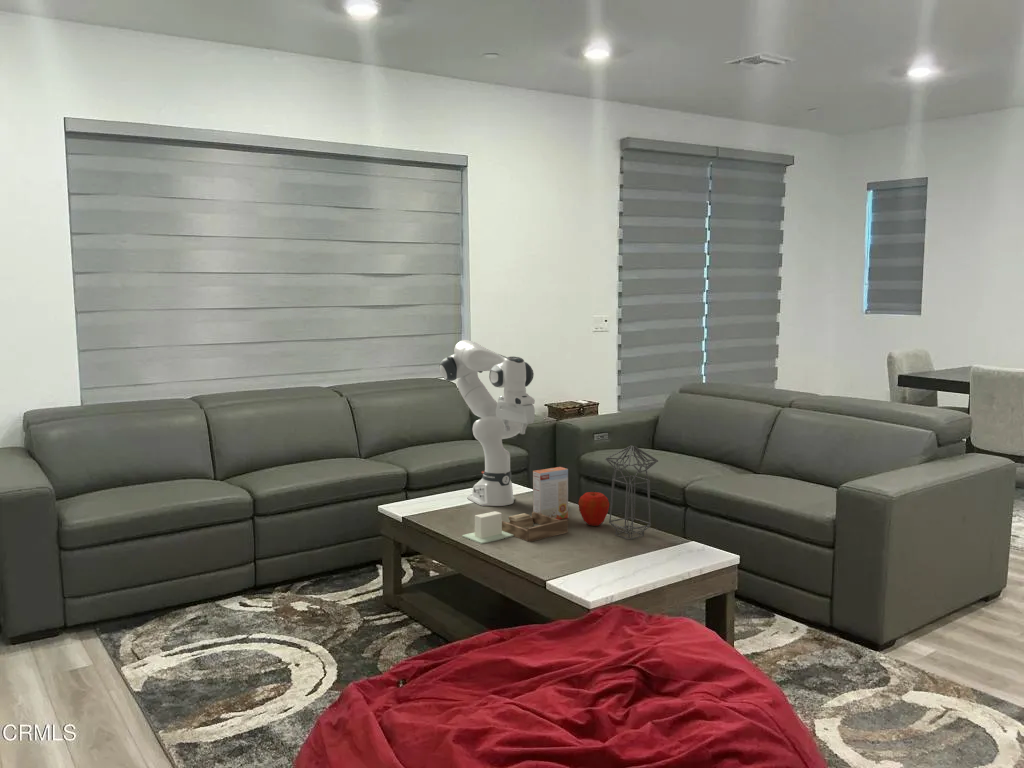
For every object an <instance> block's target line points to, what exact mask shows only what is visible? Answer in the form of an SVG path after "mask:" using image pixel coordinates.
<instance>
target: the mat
mask: <svg viewBox="0 0 1024 768" xmlns="http://www.w3.org/2000/svg"><path fill="white" fill-rule="evenodd" d="M461 537H462V538H465V539H467V540H469V539H470V541H471V542H475V543H477V544H480V545H484V544H487V543H491V542H495V541H500V540H504V538H505V539H508V538H512V537H514V535H513V534H510V533H507V532H505V531H502V534H498V535H494V536H489V537H485V538H479V537H476V536H475V531H474V532H469V533H466V534H462V535H461Z"/></svg>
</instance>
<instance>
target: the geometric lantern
mask: <svg viewBox="0 0 1024 768" xmlns="http://www.w3.org/2000/svg"><path fill="white" fill-rule="evenodd" d="M620 453H621V454H620ZM628 453H629V454H628ZM619 454H620V455H619ZM616 455H618V457H615V456H616ZM631 457H633V458H632V461H633V463H632V464H631ZM647 457H648V458H647ZM625 458H626V459H625ZM639 459H640V460H639ZM619 460H620V461H619ZM605 461H607V462H608V464H609V465H610V466H611V467H612V469H614V471H613V473H612V478H611V491H610V492H611V493H610V505H609V508H610V509H609V519H608V523H609V525H611V526H612V527H613V528H614V529H615V536H617V537H621V538H622V539H623V538H624V539H626V540H634V539H638V538H641V537H644V536H645V535H644V534H645V533H644V532H645V531H646V530H647V529H649V528H650V527H651V526H652V523H651V522H652V521H651V480H650V479H649V474H648V470H649V469H650V468H652V467H653V466H654V465H655V464H657V463H659V460H658V459H657V458H655V457H653V456H652V455H650V454H648V453H646V452H645V451H644V450H642V449H640V448H639V447H637V446H636V445H629V446H627V447H625V448H623V449H622V450H619V451H618V452H615V453H613V454H611V455H610V456H608V457H605ZM635 461H636V462H637V463H635ZM641 461H642V462H641ZM626 462H627V463H626ZM620 466H621V467H620ZM637 466H638V467H639V468H638V467H637ZM627 467H634V469H635V470H636V471H637V472H636V473H635V474H634V475H631V474H630V473H629V471H628V470H627V469H626V468H627ZM643 467H644V468H645V469H644V470H642V468H643ZM623 470H625V471H626V473H627V474H628V475H624V473H623ZM617 471H619V472H620V474H621V476H619V477H616V476H617ZM644 472H645V474H646V478H643V477H641V476H637V475H638V474H639V473H640V474H642V473H644ZM626 478H629V479H628V480H629V481H627V479H626ZM637 478H638V479H641V480H646V481H643V482H636V479H637ZM618 479H624V481H625V482H624V481H621V480H618ZM615 482H618V483H621V484H625V487H626V488H625V508H624V509H625V510H624V511H625V512H624V517H621V518H617V519H612V511H613V505H614V503H613V502H614V494H615V493H614V492H615ZM632 482H633V483H632ZM645 483H646V485H647V486H646V487H647V489H646V491H647V508H648V521H647V520H646V521H645V520H643V519H639V518H636V485H639V484H640V485H641V484H645ZM630 508H631V509H630ZM630 511H631V515H630V516H629V512H630ZM629 519H631V520H630V521H631V524H629ZM621 520H624V526H622V525H618V524H616V523H614V522H618V521H621ZM634 521H639V522H642V523H643V524H644V523H645V524H647V525H641V526H634ZM617 527H618V528H617ZM621 529H623V530H621ZM636 529H638V530H639V531H636ZM622 533H624V534H628V537H625V536H623V535H620V534H622ZM634 534H639V535H638V536H635V537H633V535H634ZM630 535H631V537H630Z"/></svg>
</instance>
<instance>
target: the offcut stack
mask: <svg viewBox="0 0 1024 768" xmlns="http://www.w3.org/2000/svg"><path fill="white" fill-rule="evenodd" d="M508 520H509V522H510V524H513V525H516V526H519V527H522V528H525V529H527V528H531V527H534V522H533V517H532V516H531V514H528V513H525V512H524V513H520V514H514V515H510V516H508Z"/></svg>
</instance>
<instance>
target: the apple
mask: <svg viewBox="0 0 1024 768" xmlns="http://www.w3.org/2000/svg"><path fill="white" fill-rule="evenodd" d="M577 503H578V510H579V513H580V515H581V518H582V519H583V521H584V522H585V523H586V524H587V526H588V525H589V526H593V527H594V526H595V527H597V526H601V524H602V523H604V521H605V519H606V517H607V515H608V513H609V510H610V509H609V508H610V505H611V503H610V502H609V498H608V497H607V496H606V495H605V494H604V493H602V492H596V491H590V492H589V491H588V492H587V491H586V492H584V493H583V494H582V495H581V496H579V499H578V502H577Z"/></svg>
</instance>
